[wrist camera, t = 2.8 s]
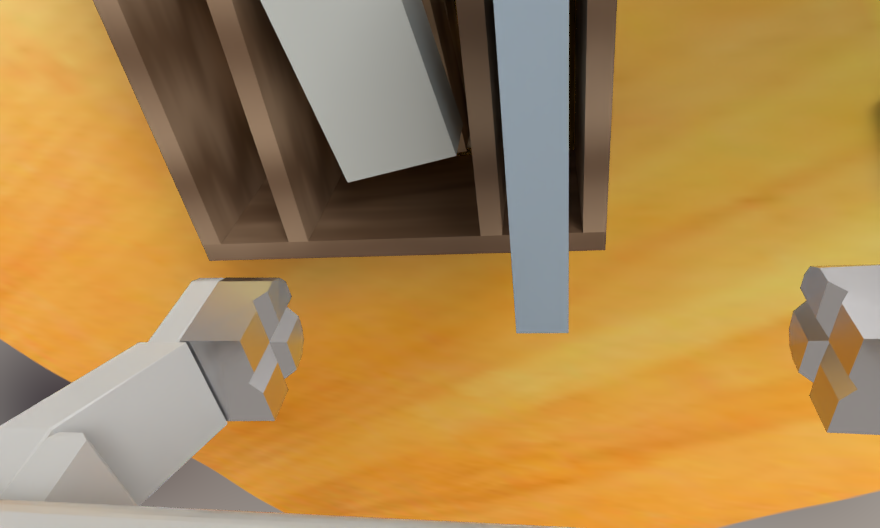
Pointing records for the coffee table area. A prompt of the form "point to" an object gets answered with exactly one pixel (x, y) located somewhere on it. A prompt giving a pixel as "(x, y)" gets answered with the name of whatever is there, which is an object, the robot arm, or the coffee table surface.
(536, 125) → the sheet
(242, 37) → the rack
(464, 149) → the offcut middle
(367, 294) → the coffee table surface
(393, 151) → the offcut top
